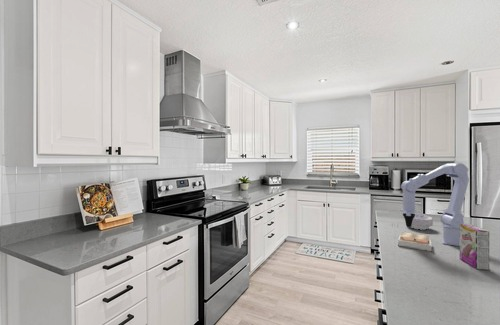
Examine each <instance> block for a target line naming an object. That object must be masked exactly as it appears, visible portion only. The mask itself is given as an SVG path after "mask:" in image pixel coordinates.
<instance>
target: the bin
mask: <svg viewBox="0 0 500 325" xmlns="http://www.w3.org/2000/svg"><path fill="white" fill-rule="evenodd" d="M401 235H402V234H399V236H398V239H397V246H398V247H404V248H409V249H414V250H421V251H425V250H427V252H432V247H433V246H432V239H430V238H429V243H428V245H427V244H421V243H416V241H414V242H409V241H403V239H402V238H401Z"/></svg>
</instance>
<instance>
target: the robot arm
mask: <svg viewBox="0 0 500 325" xmlns="http://www.w3.org/2000/svg"><path fill="white" fill-rule="evenodd" d="M468 172H469V168H468V167H467V165H465V164H464V163H461V162H460V163H458V162H457V163H456V162H455V163H451V162H447V163H445V164H442V165H441V166H439V167H437V168H435V169H433V170H432V171H430V172H428V173H425V174H424V173H418V174H417V175H416V176H414V177H413V178H409V179H408V180H405V181H403V182H402V183H401V185H400V188H401V190H402V208H401V209H400V212H403V213H402V216H403V217H404V220H405V222H406V223H405V225H406V228H407V227H408V228H411V226H412V221H413V218H414V217H415V215H416V214H415V213H416V191H418V189H419V188H421V187H423V186H425V185H427V184H429V182H430V180H433V179H435V178H437V177H439V176H442V175H444V174H445V175H447V176H449V177H450V178H452V179H453V181H454V182H453V183H454V184H453V186H452V187H453V188H452V190H451V195H450V198H449V202H448V206H447V208H446V209H445V210H443V213H441V215H440V218H439V219H440V222H441V224H442V239H441V242H442V244H444V245H451V246H457V247H460V224H465V221H464V215H463V213H462V207H463V203H464V201H465V200H464V199H465V196H466V194H467V188H468V185H469V181H470V178H469V175H468Z"/></svg>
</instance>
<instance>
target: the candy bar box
mask: <svg viewBox="0 0 500 325" xmlns="http://www.w3.org/2000/svg"><path fill="white" fill-rule="evenodd" d="M459 259H460V260H461V261H462V262H464V263H466V264H467V265H469V266H471V267H472V268H474V269H476V270H479V271H481V270H482V271H483V270H484V271H490V230H487V229H484V228H482V227H479V226H477V225H473V224H471V223H464V224H460V246H459Z"/></svg>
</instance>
